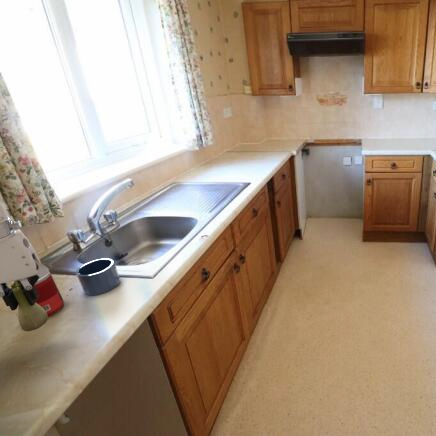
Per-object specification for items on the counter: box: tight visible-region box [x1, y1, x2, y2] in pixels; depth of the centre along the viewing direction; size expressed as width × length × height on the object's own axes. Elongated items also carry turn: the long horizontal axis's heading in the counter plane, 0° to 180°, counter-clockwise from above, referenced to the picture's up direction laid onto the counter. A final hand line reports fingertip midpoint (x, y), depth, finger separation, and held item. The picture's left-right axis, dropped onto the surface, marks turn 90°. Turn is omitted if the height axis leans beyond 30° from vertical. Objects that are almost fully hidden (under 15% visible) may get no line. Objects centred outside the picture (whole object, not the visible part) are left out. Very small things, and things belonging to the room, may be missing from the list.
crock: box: [75, 257, 121, 296], centre depth 99 cm, size 10×10×7 cm
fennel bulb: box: [10, 280, 49, 332], centre depth 73 cm, size 6×5×12 cm
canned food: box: [11, 271, 65, 317], centre depth 89 cm, size 8×8×11 cm
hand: (24, 303), depth 73 cm, fingers closed on fennel bulb, 2 cm apart
